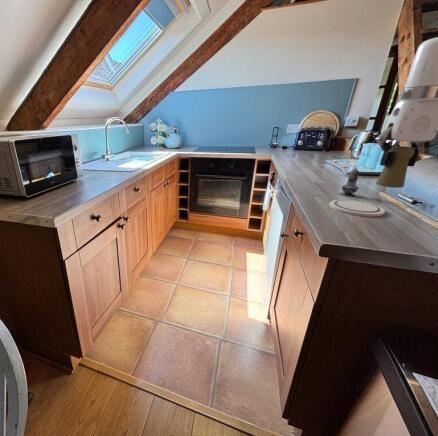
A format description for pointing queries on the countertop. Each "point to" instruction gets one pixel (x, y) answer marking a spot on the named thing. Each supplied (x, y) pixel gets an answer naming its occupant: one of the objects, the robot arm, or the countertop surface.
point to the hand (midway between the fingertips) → (396, 165)
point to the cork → (396, 168)
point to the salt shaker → (351, 184)
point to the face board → (357, 208)
